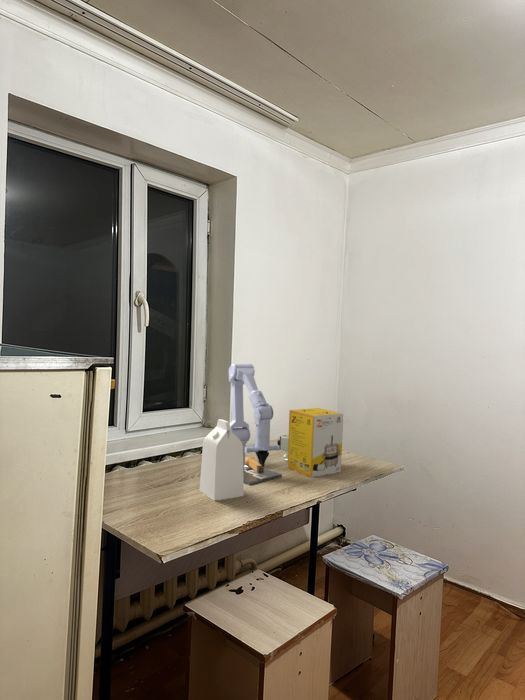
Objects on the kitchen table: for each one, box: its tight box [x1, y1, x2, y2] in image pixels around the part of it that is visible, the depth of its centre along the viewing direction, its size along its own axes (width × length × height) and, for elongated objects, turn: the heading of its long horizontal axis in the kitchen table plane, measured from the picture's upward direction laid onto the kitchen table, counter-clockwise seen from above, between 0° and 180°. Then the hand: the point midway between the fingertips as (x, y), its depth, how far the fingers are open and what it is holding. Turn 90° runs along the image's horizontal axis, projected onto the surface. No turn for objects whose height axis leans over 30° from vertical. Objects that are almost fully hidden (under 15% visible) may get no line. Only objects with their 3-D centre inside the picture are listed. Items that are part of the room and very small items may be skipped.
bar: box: [245, 456, 265, 474], centre depth 193 cm, size 16×4×3 cm, turn 21°
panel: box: [243, 464, 283, 486], centre depth 192 cm, size 20×18×2 cm
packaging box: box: [286, 407, 344, 478], centre depth 202 cm, size 16×16×25 cm
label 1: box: [246, 470, 258, 475], centre depth 191 cm, size 5×4×1 cm
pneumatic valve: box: [276, 434, 289, 462], centre depth 216 cm, size 6×12×12 cm, turn 51°
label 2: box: [253, 474, 268, 479], centre depth 186 cm, size 5×4×1 cm
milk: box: [198, 418, 245, 502], centre depth 168 cm, size 12×12×26 cm
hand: (261, 469), depth 190 cm, fingers closed, pressing on bar
